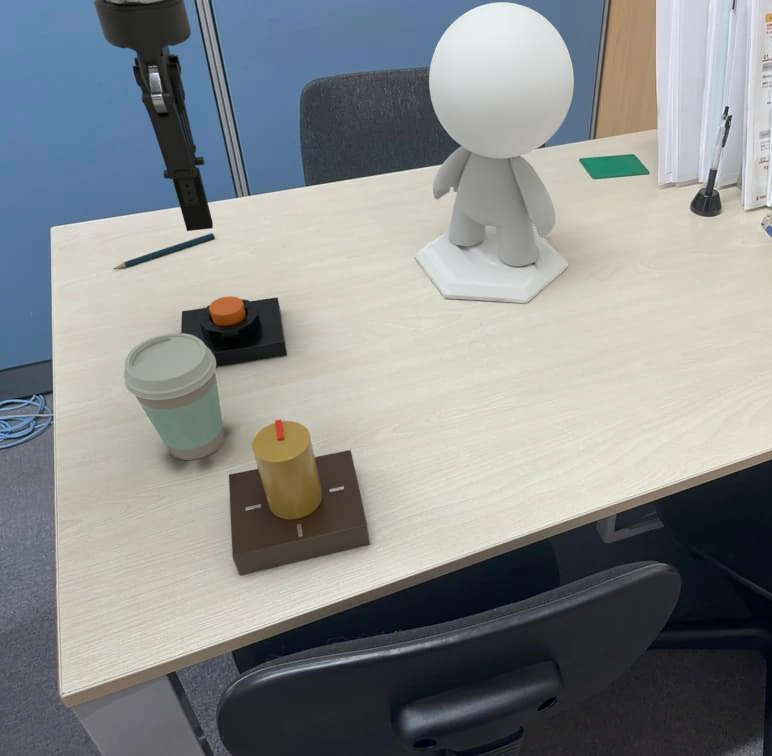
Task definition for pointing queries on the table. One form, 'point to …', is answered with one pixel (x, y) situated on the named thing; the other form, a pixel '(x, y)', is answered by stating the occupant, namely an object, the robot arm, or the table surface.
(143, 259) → the pencil
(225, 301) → the button
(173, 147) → the robot arm
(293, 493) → the lock knob
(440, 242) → the big headed doll
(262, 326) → the button box
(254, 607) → the table surface
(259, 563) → the plate
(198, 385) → the coffee cup
